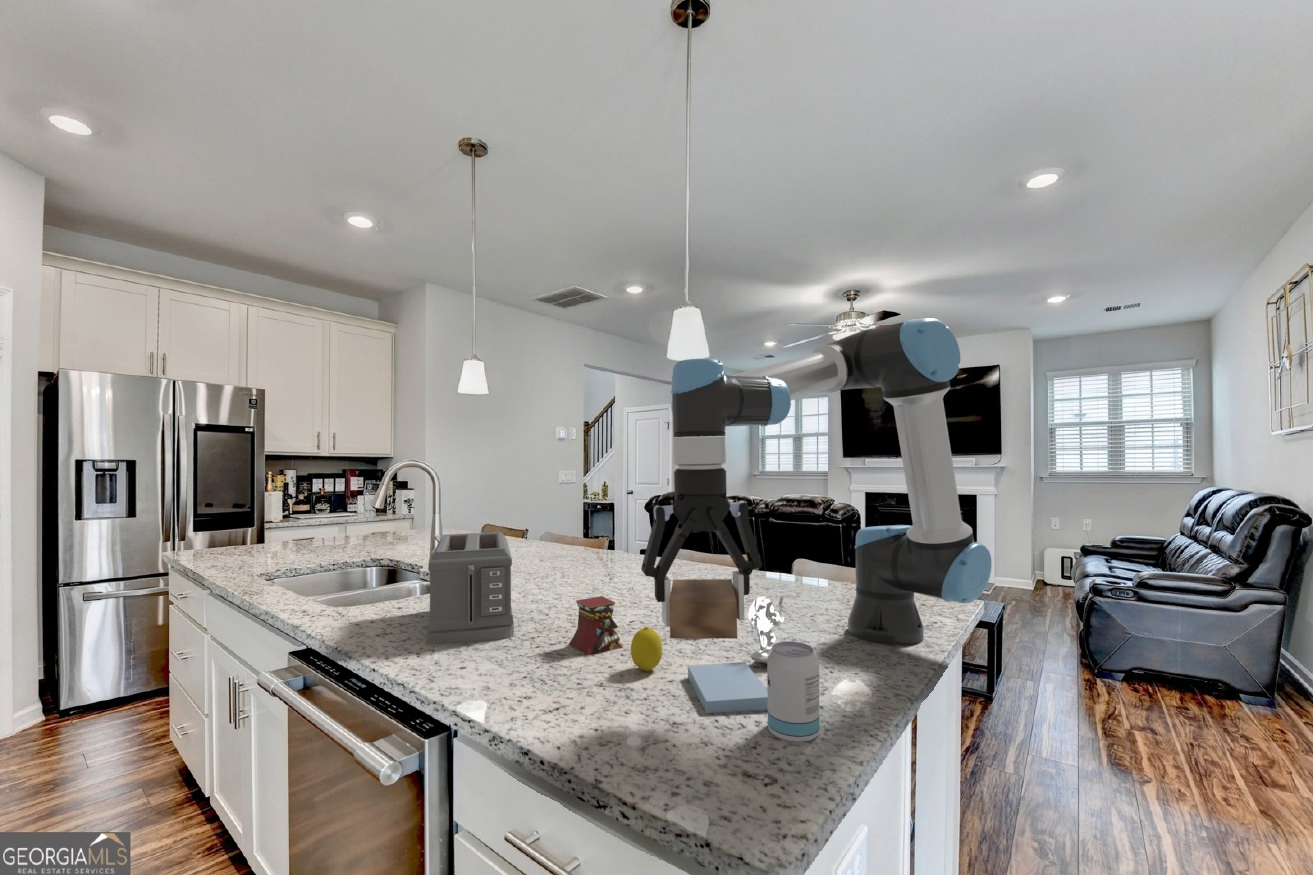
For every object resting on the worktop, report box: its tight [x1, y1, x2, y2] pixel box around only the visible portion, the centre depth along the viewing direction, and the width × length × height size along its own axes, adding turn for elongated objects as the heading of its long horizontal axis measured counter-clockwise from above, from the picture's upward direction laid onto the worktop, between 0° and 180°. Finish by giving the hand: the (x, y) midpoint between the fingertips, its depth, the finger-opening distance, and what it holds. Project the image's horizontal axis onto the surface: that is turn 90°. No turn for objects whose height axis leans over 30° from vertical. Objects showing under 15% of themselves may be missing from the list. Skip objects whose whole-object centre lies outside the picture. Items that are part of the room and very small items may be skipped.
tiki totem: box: [568, 595, 624, 656], centre depth 116 cm, size 9×9×9 cm
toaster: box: [426, 531, 515, 645], centre depth 131 cm, size 17×31×19 cm, turn 17°
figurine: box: [748, 595, 785, 665], centre depth 107 cm, size 9×6×12 cm
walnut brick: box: [669, 578, 738, 639], centre depth 85 cm, size 9×12×5 cm
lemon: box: [630, 626, 663, 672], centre depth 103 cm, size 6×6×8 cm
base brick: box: [687, 661, 768, 714], centre depth 93 cm, size 10×14×3 cm
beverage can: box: [766, 641, 821, 743], centre depth 80 cm, size 7×7×12 cm
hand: (703, 620), depth 85 cm, fingers closed on walnut brick, 10 cm apart
